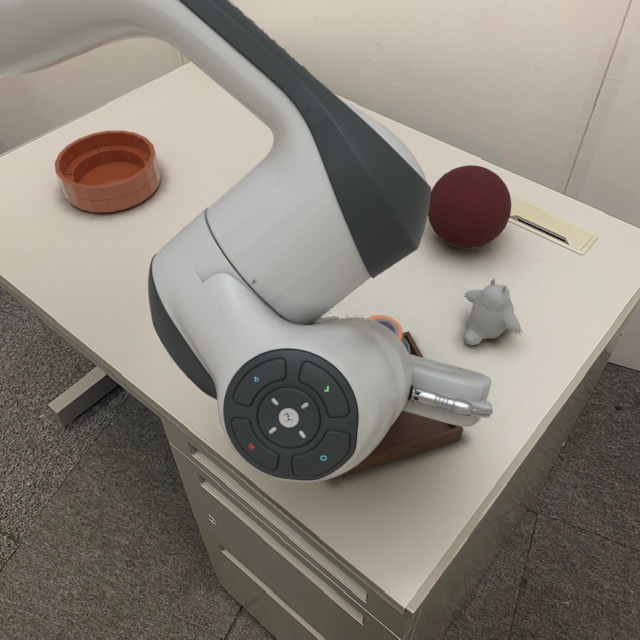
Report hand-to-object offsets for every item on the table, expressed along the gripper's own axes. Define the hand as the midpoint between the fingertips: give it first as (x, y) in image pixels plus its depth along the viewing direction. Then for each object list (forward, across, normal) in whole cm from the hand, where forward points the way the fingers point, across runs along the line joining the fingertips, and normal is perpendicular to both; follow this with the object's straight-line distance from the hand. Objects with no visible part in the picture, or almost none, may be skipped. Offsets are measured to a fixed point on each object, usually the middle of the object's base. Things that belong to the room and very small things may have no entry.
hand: (380, 359), depth 61 cm
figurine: (+14, -9, -4) cm, 17 cm away
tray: (+5, 0, +5) cm, 7 cm away
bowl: (+21, +45, -11) cm, 51 cm away
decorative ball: (+25, -3, -14) cm, 29 cm away
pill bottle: (+4, 0, +5) cm, 7 cm away
